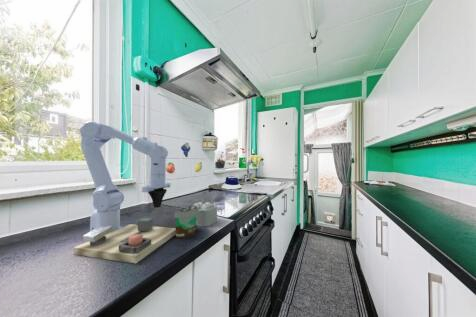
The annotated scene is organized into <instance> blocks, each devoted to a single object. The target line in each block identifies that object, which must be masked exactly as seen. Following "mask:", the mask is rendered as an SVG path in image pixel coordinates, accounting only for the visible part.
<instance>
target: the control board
mask: <svg viewBox="0 0 476 317" xmlns="http://www.w3.org/2000/svg"><path fill="white" fill-rule="evenodd" d="M120 227H121V228H119V229H117V230H114V231H112V232H110V233H108V234H107V235H105V236H103V237H102V238H100V239H98V240H97V241H95V242H90V241H85V242H83V243H81V244H79V245H76V246H74V247H73V252H72V253H73V255H75V256H81V257H82V256H83V257H91V258H94V259H95V258H96V259H102V260H109V261H117V262H123V263H131V264H138V263H139V262H140V261H142V260H143V259H144V258H146V257H147V256H148V255H150V254H151V253H153V252H154V251H155V250H157V249H158V248H159V247H161V246H162V245H163V244H165V243H166V242H168V241H169V240H170V239H172V238H173V237H174V236H176V227H164V226H156V225H155V226H153V228H152V229H151V230H149V231H138V224H133V223H130V224H129V223H128V224H126V225H123V226H120ZM136 234H142V235H143V240H142V243H141V244H140V245H138V246H136V247H135V246H128V245H129V237H130V236H132V235H136Z"/></svg>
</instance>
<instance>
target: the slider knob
mask: <svg viewBox="0 0 476 317" xmlns="http://www.w3.org/2000/svg"><path fill="white" fill-rule="evenodd" d="M153 223H154V220H153V218H151V217H142V218H141V219H138V220H137V225H138V231H149V230H151V229H152V228H153Z"/></svg>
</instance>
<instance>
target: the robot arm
mask: <svg viewBox="0 0 476 317" xmlns="http://www.w3.org/2000/svg"><path fill="white" fill-rule="evenodd" d="M78 130H79V131H78V132H79V133H80V136H81V141H80V149H81V151H82V154H83V157H84V160H85V161H86V164H87V167H88V170H89V174H90V175H91V178H92V181H93V183H94V187H95V190H94V191H93V192H92V194H91V196H92V199H93V200H92V205H93V208H94V209H95V210H93V211H92V212H91V215H90V217H89V218H90V221H89V231H88V232H87V233H89V232H91V231H93V230H95V229H97V228H98V227H100V226H102V225H103V226H112V230H113V231H114V230H117V229H119V228H121V227H122V226H121V225H120V224H121V222H120V220H121V205H122V203H123V202H124V199H125V195H124V193H123V192H122V191H121V190H120V188H119V187H118V186H117V185H115V184H114V183H113V180H112V177H111V175H110V171H109V170H108V167H107V164H106V161H105V159H104V156H103V153H102V151H101V148H102V146H104V145H106V143H108V142H109V141H111V139H118V140H120V141H122V142H124V143H127V144H129V145H131V146H132V148H133V150H136V151H137V152H139V153H142V154H144V155H146V156H148V157H149V158H150V172H149V174H150V175H149V185H145V186H142V188H141V192H142V193H148V195H149V196H150V199H151V200H152V203H153V204H152V205H153V207H154V208H161V205H162V203H163V198H164V197H165V195H166V193H167V191H168V190H167V189H168V188H171V182H166V169H167V168H166V165H167V163H166V161H167V160H166V159H167V157H168V153H169V152H168V150H167V148H166V147H165V146H162V145H158V143H157V142H152V141H151V140H148V137H146V136H143V137H142V136H138V137H135V136H132V135H131V134H129V133H127V132H125V131H122V130H120V129H118V128H116V127H113V126H109V125H107V124H102V123H99V122H96V121H94V120H87V121H85V122H84V123H83V124H82V125H81V126H80V128H79V129H78Z"/></svg>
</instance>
